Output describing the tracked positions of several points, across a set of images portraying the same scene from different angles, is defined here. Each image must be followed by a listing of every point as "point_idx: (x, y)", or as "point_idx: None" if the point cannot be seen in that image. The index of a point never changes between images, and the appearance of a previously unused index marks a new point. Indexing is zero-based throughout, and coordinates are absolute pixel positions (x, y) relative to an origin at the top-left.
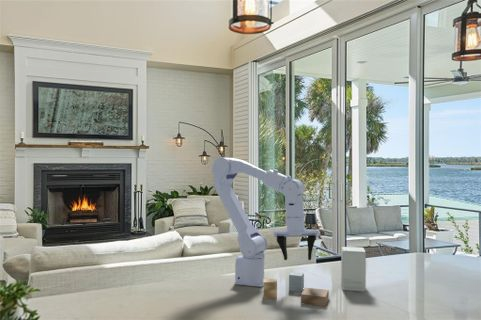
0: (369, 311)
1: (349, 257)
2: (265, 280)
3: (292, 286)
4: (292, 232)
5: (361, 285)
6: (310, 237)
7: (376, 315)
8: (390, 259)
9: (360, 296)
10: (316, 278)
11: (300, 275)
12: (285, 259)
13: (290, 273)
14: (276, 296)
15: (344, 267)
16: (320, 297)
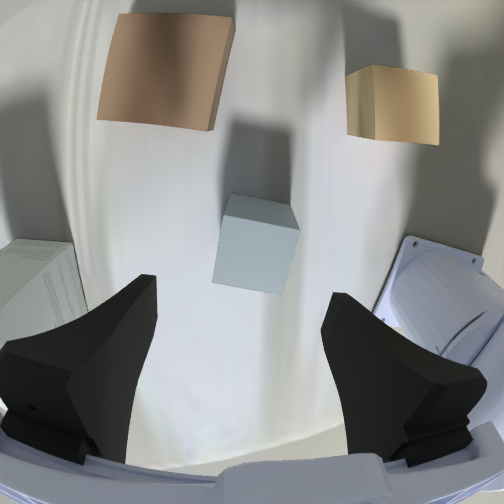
0: (16, 40)
1: None
2: (430, 104)
3: (274, 206)
4: (370, 497)
5: (12, 247)
6: (52, 422)
7: (10, 18)
8: None
9: (21, 182)
10: (179, 368)
11: (230, 227)
12: (341, 293)
13: (290, 261)
14: (350, 75)
15: (14, 285)
16: (141, 15)
